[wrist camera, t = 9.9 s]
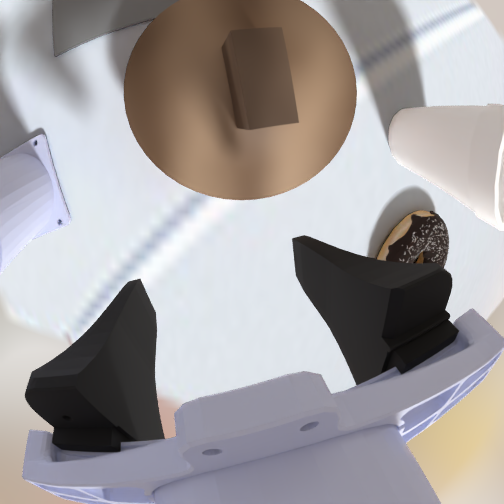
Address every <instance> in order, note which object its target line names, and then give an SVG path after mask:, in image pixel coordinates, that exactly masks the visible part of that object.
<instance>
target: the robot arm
mask: <svg viewBox="0 0 504 504" xmlns="http://www.w3.org/2000/svg"><path fill="white" fill-rule="evenodd" d="M36 140H37V145H35V141H36ZM59 219H61V220H62V224H61V223H60V222H59ZM70 222H71V217H70V214H69V212H68V209H67V206H66V203H65V201H64V198H63V195H62V192H61V189H60V186H59V182H58V179H57V176H56V173H55V169H54V166H53V162H52V159H51V155H50V151H49V147H48V143H47V139H46V136H45V135H44V134H40V135H37V136H36V137H34V138H32V139H30V140H29V141H27V142H25V143H23V144H22V145H20V146H18V147H17V148H15V149H14V150H12V151H10V152H9V153H7V154H6V155H4V156H3V157H1V158H0V274H1V273H2V272H3V271H4V270H5V268H6V267H7V266H8V265H9V264H10V263H11V261H12V260H13V259H14V258H15V257H16V256H17V255H18V254H19V253H20V251H21V250H22V249H23V248H24V247H25V246H26V245H27V244H28V243H29V242H30V241H31V240H33V239H35V238H37V237H40V236H42V235H45V234H47V233H50V232H52V231H55V230H57V229H60V228H62V227H65V226H67V225H69V223H70ZM292 242H293V251H294V261H295V272H296V276H297V278H298V280H299V282H300V284H301V286H302V288H303V290H304V292H305V293H306V295H307V296H308V298H309V299H310V301H311V302H312V303H313V305H314V306H315V308H316V309H317V310H318V312H319V313H320V315H321V316H322V318H323V319H324V320H325V322H326V323H327V325H328V327H329V328H330V330H331V332H332V334H333V335H334V337H335V339H336V341H337V343H338V345H339V347H340V349H341V351H342V353H343V355H344V357H345V359H346V362H347V364H348V366H349V368H350V371H351V373H352V375H353V378H354V380H355V383H356V385H357V386H355V387H352V388H350V389H348V390H346V391H342V392H338V393H333V394H331V393H330V391H329V389H328V387H327V385H326V383H325V381H324V380H323V378H322V376H321V374H316V373H311V372H306V371H303V372H298V373H292V374H287V375H284V376H281V377H277V378H274V379H271V380H267V381H264V382H261V383H257V384H253V385H250V386H246V387H242V388H239V389H235V390H231V391H227V392H222V393H218V394H214V395H209V396H204V397H200V398H197V399H195V400H192V401H189V402H186V403H184V404H183V405H182V406H181V407H180V408H179V409H178V410H177V411H176V412H175V414H174V416H175V426H176V427H175V428H176V436H175V437H172V438H168V439H165V438H164V433H163V429H162V424H161V419H160V414H159V407H158V401H157V393H156V383H155V355H156V338H157V323H156V312H155V310H154V308H153V306H152V304H151V301H150V299H149V297H148V295H147V293H146V291H145V288H144V286H143V284H142V282H141V279H137V280H133V281H129V282H128V283H127V284H126V285H125V286H124V287H123V288H122V290H121V291H120V292H119V293H118V295H117V296H116V297H115V298H114V300H113V301H112V302H111V304H110V305H109V306H108V307H107V309H106V310H105V311H104V312H103V313H102V315H101V316H100V317H99V318H98V319H97V321H96V322H95V323H94V324H93V325H92V326H91V327H90V328H89V329H88V330H87V331H86V332H85V333H84V334H83V335H82V336H81V337H80V338H79V339H78V340H77V341H76V342H74V343H73V344H72V345H71V346H70V347H69V348H68V349H66V350H65V351H64V352H62V353H61V354H60V355H58V356H57V357H55V358H54V359H53V360H51V361H50V362H48V363H46V364H45V365H43V366H41V367H40V368H38V369H36V370H34V371H33V372H32V373H31V376H30V379H29V383H28V386H27V389H26V392H25V398H26V401H27V402H28V404H29V405H30V407H31V408H32V409H33V410H34V411H35V412H36V413H38V415H40V416H41V417H42V418H43V419H44V420H46V421H47V422H48V423H49V424H50V425H52V426H53V427H54V432H53V434H52V433H50V432H47V431H40V430H29V434H28V440H27V446H26V452H25V458H24V466H23V475H22V477H23V479H24V480H26V481H28V482H30V483H32V484H34V485H35V486H37V487H39V488H41V489H43V490H45V491H48V492H50V493H52V494H54V495H56V496H58V497H61V498H63V499H67V500H71V501H76V502H81V503H86V504H441V502H440V501H439V499H438V497H437V495H436V494H435V492H434V490H433V488H432V487H431V485H430V483H429V481H428V480H427V478H426V476H425V474H424V473H423V471H422V469H421V468H420V466H419V464H418V462H417V461H416V459H415V457H414V456H413V454H412V452H411V451H410V449H409V447H408V446H407V444H406V442H408V441H409V440H411V439H412V438H413V437H415V436H416V435H418V434H419V433H420V432H422V431H423V430H425V429H426V428H427V427H429V426H430V425H431V424H433V423H434V422H435V421H437V420H438V419H439V418H440V417H442V416H443V415H444V414H445V413H447V412H448V411H449V410H450V409H451V408H452V407H454V406H455V405H456V404H457V403H458V402H460V401H461V400H462V399H463V398H464V397H465V396H466V395H467V394H469V393H470V392H471V391H472V390H473V389H474V388H475V387H476V386H477V385H479V384H480V383H481V382H482V381H483V380H484V378H485V377H486V376H487V374H488V373H489V372H490V370H491V369H492V367H493V366H494V364H495V363H496V361H497V360H498V358H499V357H500V355H501V353H502V352H503V350H504V338H503V337H502V336H501V335H500V334H499V333H498V332H497V331H496V330H495V329H494V328H493V327H492V326H491V325H490V324H489V323H488V322H487V321H486V320H485V319H484V318H483V317H482V316H481V315H479V314H478V313H477V312H476V311H475V310H474V309H470V310H469V311H467V312H466V313H464V314H463V315H462V316H460V317H459V318H458V319H456V320H455V322H454V323H453V324H452V323H451V322H450V321H449V320H448V319H449V318H450V314H449V313H448V312H447V311H446V310H445V309H446V306H447V303H448V300H449V296H450V293H451V289H452V277H451V274H450V273H449V272H447V271H446V270H445V269H444V268H443V267H441V266H440V265H439V264H437V263H400V262H391V261H384V260H378V259H373V258H369V257H365V256H361V255H357V254H354V253H351V252H348V251H345V250H342V249H339V248H337V247H334V246H331V245H329V244H326V243H324V242H321V241H319V240H316V239H314V238H311V237H308V236H305V235H304V236H300V237H296V238H292Z"/></svg>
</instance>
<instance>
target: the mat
mask: <svg viewBox="0 0 504 504" xmlns="http://www.w3.org/2000/svg"><path fill="white" fill-rule="evenodd" d="M177 1H179V0H53V10H52V16H53V43H54V56H55V57H57V56H58V55H60V54H62V53H64V52H66V51H68V50H70V49H73V48H75V47H77V46H79V45H81V44H84V43H86V42H88V41H90V40H93V39H95V38H98V37H100V36H103V35H105V34H108V33H111V32H114V31H116V30H119V29H122V28H125V27H128V26H131V25H135V24H138V23H141V22H145V21H148V20H152V19H155V18H156V17H157V16H158V15H159V14H160V13H162V12H163V11H164V10H165V9H167V8H168V7H169V6H171V5H172V4H174V3H176V2H177Z"/></svg>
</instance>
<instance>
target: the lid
mask: <svg viewBox="0 0 504 504" xmlns="http://www.w3.org/2000/svg"><path fill="white" fill-rule="evenodd" d="M356 97H357V89H356V78H355V73H354V69H353V65H352V62H351V59H350V56H349V53H348V51H347V49H346V47H345V45H344V43H343V42H342V40H341V38H340V37H339V35H338V34H337V33H336V31H335V30H334V28H333V27H332V26H331V25H330V24H329V23H328V22H327V21H326V19H324V18H323V17H322V16H321V15H320V14H319V13H318V12H317V11H315V10H314V9H313V8H311V7H310V6H308V5H307V4H305V3H304V2H302V1H300V0H179V1H177V2H176V3H174V4H172V5H171V6H169V7H168V8H167V9H165V10H164V11H163V12H162V13H160V14H159V15H158V16H157V17H156V18H155V19H154V20H153V21H152V22H151V23H150V24H149V25H148V26H147V28H146V29H145V31H144V32H143V33H142V35H141V36H140V38H139V39H138V41H137V43H136V45H135V47H134V49H133V51H132V53H131V56H130V59H129V62H128V65H127V68H126V74H125V80H124V102H125V110H126V115H127V118H128V121H129V125H130V128H131V130H132V132H133V134H134V136H135V138H136V140H137V142H138V144H139V145H140V147H141V148H142V150H143V151H144V153H145V154H146V155H147V156H148V158H149V159H150V160H151V161H152V162H153V163H154V164H155V165H156V166H157V167H158V168H159V169H160V170H161V171H163V172H164V173H165V174H166V175H167V176H169V177H170V178H172V179H173V180H175V181H176V182H178V183H179V184H181V185H183V186H185V187H187V188H189V189H192V190H194V191H196V192H199V193H202V194H205V195H208V196H212V197H217V198H222V199H232V200H253V199H260V198H266V197H271V196H275V195H278V194H281V193H284V192H287V191H289V190H291V189H294V188H296V187H298V186H300V185H301V184H303V183H305V182H307V181H308V180H310V179H311V178H312V177H314V176H315V175H316V174H318V173H319V172H320V171H321V170H322V169H323V168H324V167H325V166H326V165H328V164H329V163H330V161H331V160H332V159H333V158H334V156H335V155H336V154H337V153H338V151H339V150H340V148H341V146H342V145H343V143H344V141H345V139H346V137H347V135H348V133H349V131H350V128H351V125H352V122H353V118H354V114H355V108H356Z"/></svg>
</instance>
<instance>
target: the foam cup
mask: <svg viewBox="0 0 504 504" xmlns="http://www.w3.org/2000/svg"><path fill="white" fill-rule="evenodd" d="M388 143H389V147H390V150H391V153H392V156H393V157H394V158H395V159H396V161H397V162H398V163H399V164H400V165H402V166H403V167H405V168H407V169H408V170H410V171H412V172H414V173H415V174H417V175H419V176H420V177H422V178H424V179H425V180H427V181H429V182H430V183H432V184H434V185H435V186H437V187H438V188H440V189H441V190H443V191H444V192H446V193H447V194H449V195H450V196H452V197H453V198H455V199H456V200H458V201H459V202H461V203H462V204H464V205H465V206H466V207H468V208H469V209H470V210H472V211H473V212H475V215H476V217H477V218H479V219H481V220H483V221H485V222H486V223H488V224H490V225H492V226H493V227H495V228H497V229H498V230H500V231H503V232H504V105H501V104H488V105H487V106H431V107H415V108H406V109H401V110H400V111H399V112H398V113H396V114H395V115H394V116H393V119H392V121H391V124H390V126H389V134H388Z"/></svg>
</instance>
